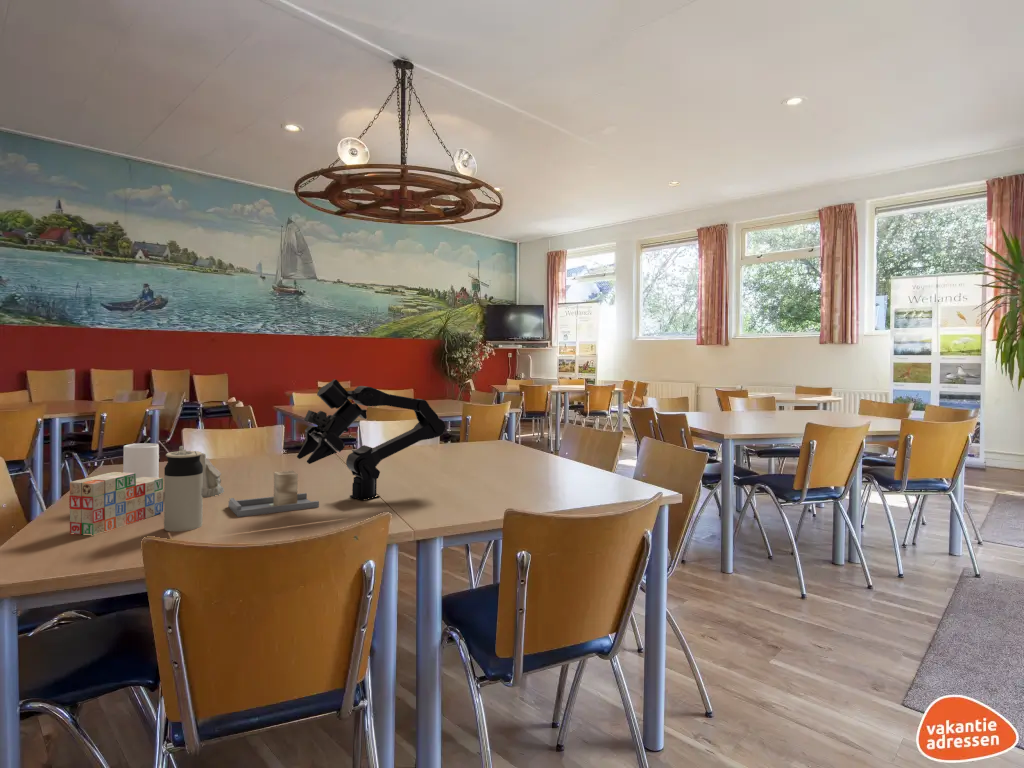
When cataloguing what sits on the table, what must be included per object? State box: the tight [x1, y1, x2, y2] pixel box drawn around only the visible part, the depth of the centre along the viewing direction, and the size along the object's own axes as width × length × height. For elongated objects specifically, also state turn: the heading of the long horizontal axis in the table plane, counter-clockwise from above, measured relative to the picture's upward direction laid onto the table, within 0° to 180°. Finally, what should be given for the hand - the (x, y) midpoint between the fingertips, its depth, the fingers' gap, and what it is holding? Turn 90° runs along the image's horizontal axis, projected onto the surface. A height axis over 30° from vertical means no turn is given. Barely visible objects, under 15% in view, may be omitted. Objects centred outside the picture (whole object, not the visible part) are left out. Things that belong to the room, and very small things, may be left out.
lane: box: [228, 492, 320, 518], centre depth 160 cm, size 21×12×3 cm, turn 126°
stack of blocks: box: [68, 471, 164, 535], centre depth 143 cm, size 21×6×12 cm, turn 171°
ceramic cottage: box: [178, 445, 225, 498], centre depth 177 cm, size 16×16×15 cm
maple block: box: [273, 470, 299, 506], centre depth 162 cm, size 5×5×9 cm
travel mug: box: [163, 450, 204, 532], centre depth 140 cm, size 8×8×18 cm
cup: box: [122, 442, 160, 478], centre depth 162 cm, size 8×8×16 cm
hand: (302, 460), depth 164 cm, fingers open, 9 cm apart
